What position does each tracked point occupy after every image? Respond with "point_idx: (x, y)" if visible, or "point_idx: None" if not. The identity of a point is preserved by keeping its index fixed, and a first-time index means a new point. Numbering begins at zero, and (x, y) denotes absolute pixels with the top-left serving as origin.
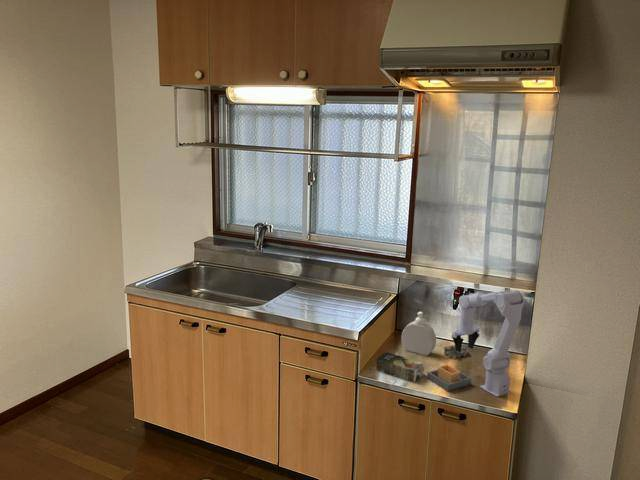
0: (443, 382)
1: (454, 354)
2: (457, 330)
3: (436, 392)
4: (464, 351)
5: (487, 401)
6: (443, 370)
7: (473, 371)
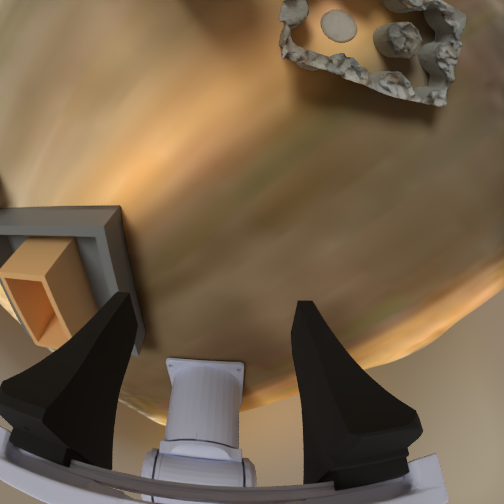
0: (17, 315)
1: (310, 67)
2: (52, 502)
3: (6, 299)
4: (433, 71)
5: (135, 395)
6: (14, 302)
7: (258, 264)
